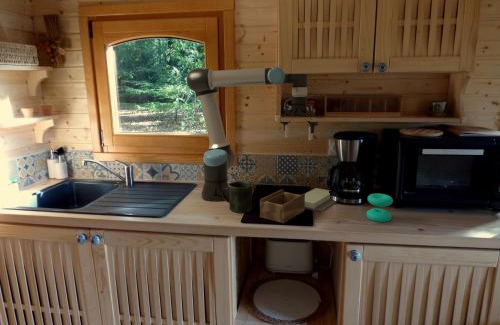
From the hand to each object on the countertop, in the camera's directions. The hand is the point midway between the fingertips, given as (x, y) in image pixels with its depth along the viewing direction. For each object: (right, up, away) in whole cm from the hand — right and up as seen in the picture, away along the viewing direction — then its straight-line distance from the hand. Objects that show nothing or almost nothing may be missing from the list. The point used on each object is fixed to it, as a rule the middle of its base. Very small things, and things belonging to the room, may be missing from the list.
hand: (298, 138), depth 180 cm
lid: (+7, -30, -8) cm, 32 cm away
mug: (-30, -34, -18) cm, 49 cm away
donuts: (+30, -36, -30) cm, 56 cm away
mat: (+8, -31, -7) cm, 33 cm away
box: (-10, -35, -24) cm, 43 cm away
